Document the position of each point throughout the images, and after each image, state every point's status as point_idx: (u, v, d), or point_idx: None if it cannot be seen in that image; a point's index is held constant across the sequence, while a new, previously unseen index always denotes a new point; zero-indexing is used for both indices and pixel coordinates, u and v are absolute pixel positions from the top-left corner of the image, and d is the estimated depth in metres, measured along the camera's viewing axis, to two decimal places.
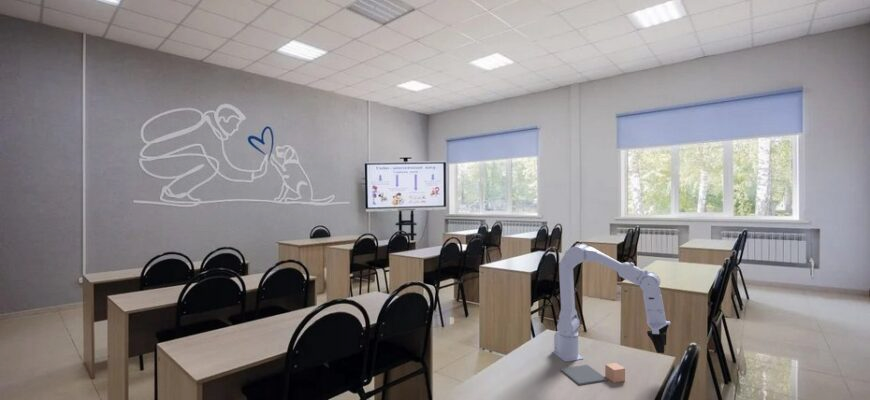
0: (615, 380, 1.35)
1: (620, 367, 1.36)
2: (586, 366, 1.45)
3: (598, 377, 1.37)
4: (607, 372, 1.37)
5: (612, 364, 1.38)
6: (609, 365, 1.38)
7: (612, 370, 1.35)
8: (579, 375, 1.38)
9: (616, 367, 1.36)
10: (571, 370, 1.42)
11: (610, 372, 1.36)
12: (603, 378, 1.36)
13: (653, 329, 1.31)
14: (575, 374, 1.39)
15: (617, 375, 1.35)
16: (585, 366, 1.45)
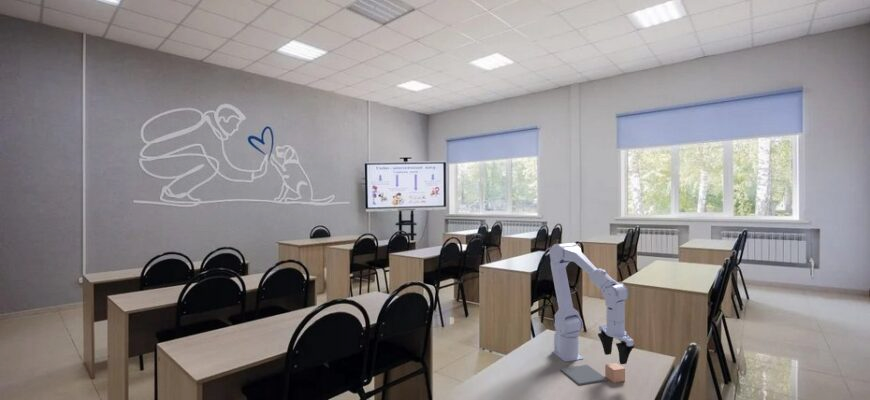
0: (615, 380, 1.35)
1: (620, 367, 1.36)
2: (586, 366, 1.45)
3: (598, 377, 1.37)
4: (607, 372, 1.37)
5: (612, 364, 1.38)
6: (609, 365, 1.38)
7: (612, 370, 1.35)
8: (579, 375, 1.38)
9: (616, 367, 1.36)
10: (571, 370, 1.42)
11: (610, 372, 1.36)
12: (603, 378, 1.36)
13: (629, 341, 1.29)
14: (575, 374, 1.39)
15: (617, 375, 1.35)
16: (585, 366, 1.45)
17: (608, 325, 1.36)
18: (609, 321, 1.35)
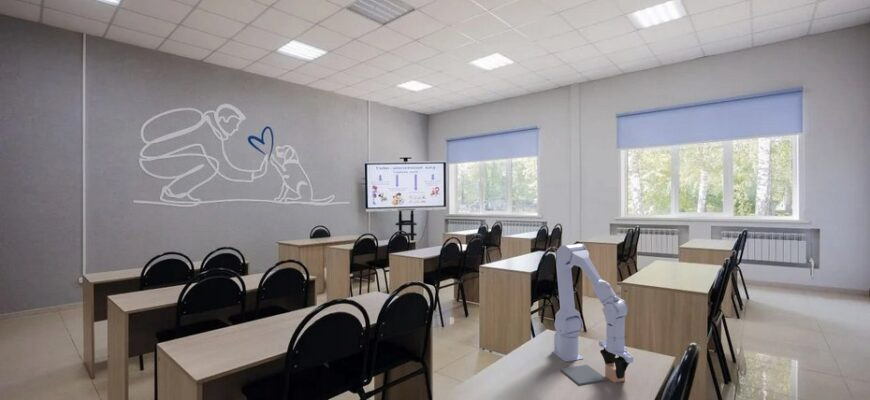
0: (615, 380, 1.35)
1: None
2: (586, 366, 1.45)
3: (598, 377, 1.37)
4: (607, 371, 1.37)
5: (612, 364, 1.38)
6: (609, 365, 1.38)
7: (612, 370, 1.35)
8: (579, 375, 1.38)
9: None
10: (571, 370, 1.42)
11: (610, 371, 1.36)
12: (603, 378, 1.36)
13: (629, 358, 1.30)
14: (575, 374, 1.39)
15: None
16: (585, 366, 1.45)
17: (608, 341, 1.36)
18: (609, 337, 1.35)
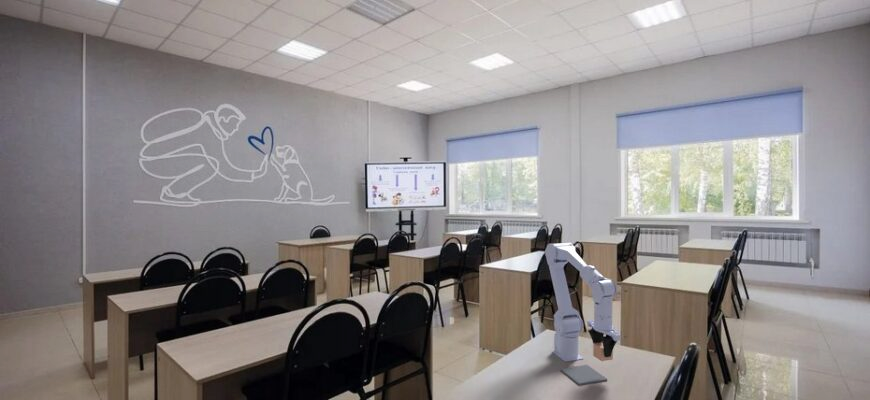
0: (603, 358, 1.35)
1: None
2: (586, 366, 1.45)
3: (598, 377, 1.37)
4: (595, 350, 1.38)
5: (600, 343, 1.39)
6: (597, 344, 1.38)
7: (600, 348, 1.36)
8: (579, 375, 1.38)
9: None
10: (571, 370, 1.42)
11: (598, 350, 1.37)
12: (603, 378, 1.36)
13: (616, 336, 1.30)
14: (575, 374, 1.39)
15: None
16: (585, 366, 1.45)
17: (596, 320, 1.36)
18: (597, 316, 1.36)
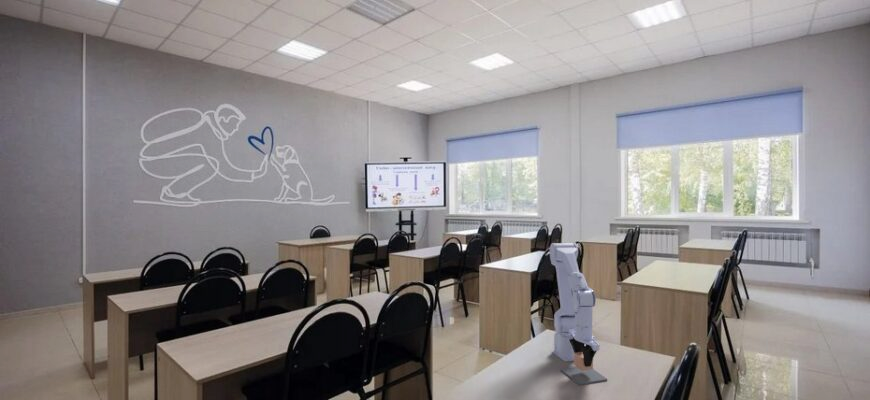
0: (583, 368, 1.37)
1: None
2: None
3: (598, 377, 1.37)
4: (576, 360, 1.40)
5: (581, 352, 1.41)
6: (578, 353, 1.40)
7: (580, 358, 1.37)
8: (579, 375, 1.38)
9: None
10: (571, 370, 1.42)
11: (578, 360, 1.38)
12: (603, 378, 1.36)
13: (595, 346, 1.32)
14: (575, 374, 1.39)
15: None
16: None
17: (576, 330, 1.38)
18: (577, 326, 1.38)
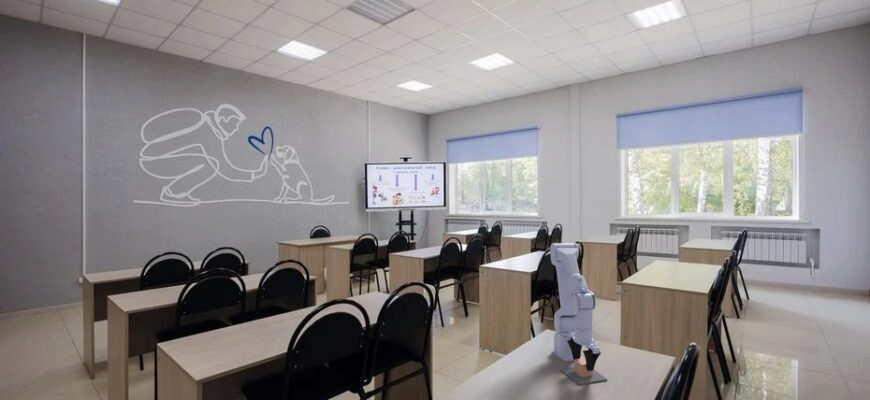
0: (583, 375, 1.37)
1: None
2: None
3: (598, 377, 1.37)
4: (576, 367, 1.40)
5: (581, 359, 1.41)
6: (578, 360, 1.40)
7: (580, 365, 1.38)
8: None
9: (584, 361, 1.39)
10: (571, 370, 1.42)
11: (578, 366, 1.38)
12: (603, 378, 1.36)
13: (595, 349, 1.32)
14: (575, 374, 1.39)
15: (584, 370, 1.37)
16: None
17: (576, 332, 1.38)
18: (577, 329, 1.38)
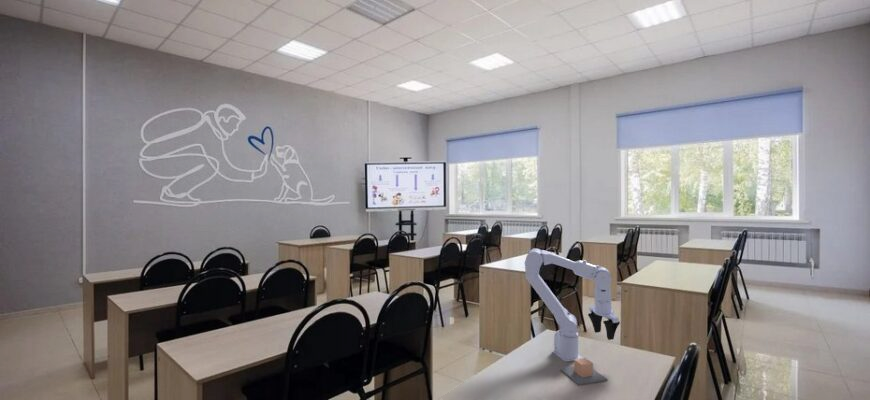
0: (583, 375, 1.37)
1: (588, 362, 1.39)
2: None
3: (598, 377, 1.37)
4: (576, 367, 1.40)
5: (581, 359, 1.41)
6: (578, 360, 1.40)
7: (580, 365, 1.38)
8: None
9: (584, 361, 1.39)
10: (571, 370, 1.42)
11: (578, 366, 1.38)
12: (603, 378, 1.36)
13: (615, 318, 1.43)
14: (575, 374, 1.39)
15: (584, 370, 1.37)
16: None
17: (596, 305, 1.50)
18: (597, 301, 1.49)
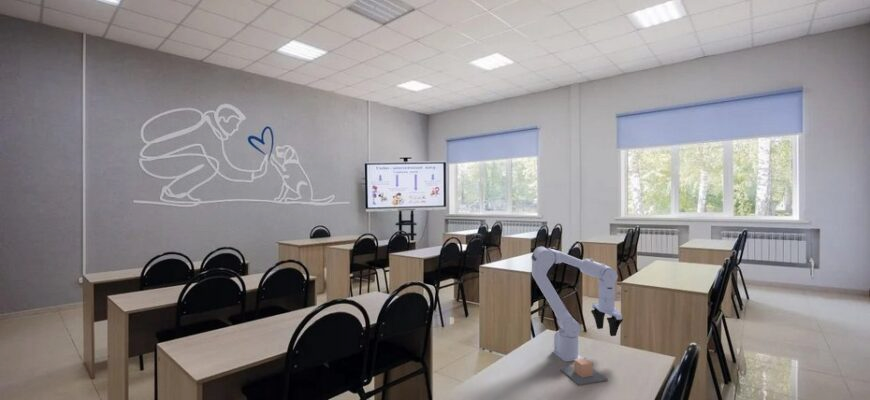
0: (583, 375, 1.37)
1: (588, 362, 1.39)
2: None
3: (598, 377, 1.37)
4: (576, 367, 1.40)
5: (581, 359, 1.41)
6: (578, 360, 1.40)
7: (580, 365, 1.38)
8: None
9: (584, 361, 1.39)
10: (571, 370, 1.42)
11: (578, 366, 1.38)
12: (603, 378, 1.36)
13: (618, 315, 1.47)
14: (575, 374, 1.39)
15: (584, 370, 1.37)
16: None
17: (600, 302, 1.53)
18: (601, 298, 1.53)
